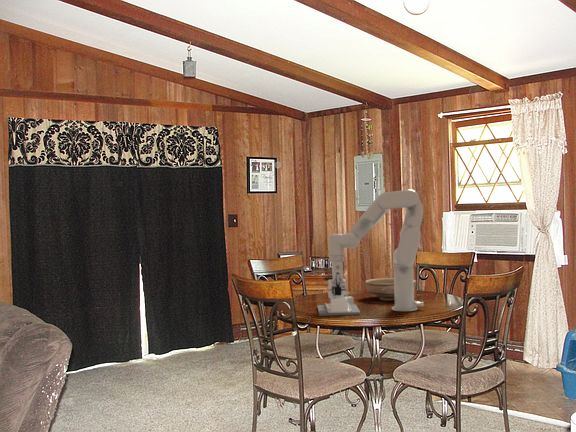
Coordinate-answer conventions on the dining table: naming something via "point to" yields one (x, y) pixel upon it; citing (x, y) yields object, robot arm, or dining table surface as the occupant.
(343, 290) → the ink box
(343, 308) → the rail panel
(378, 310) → the dining table surface
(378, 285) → the ceramic bowl
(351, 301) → the block
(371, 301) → the dining table surface
